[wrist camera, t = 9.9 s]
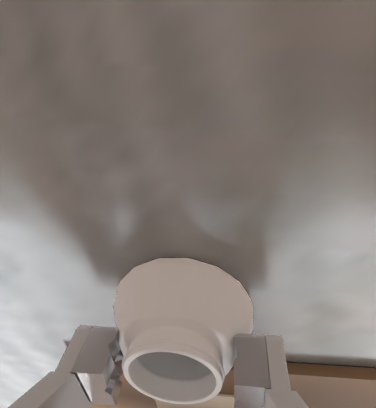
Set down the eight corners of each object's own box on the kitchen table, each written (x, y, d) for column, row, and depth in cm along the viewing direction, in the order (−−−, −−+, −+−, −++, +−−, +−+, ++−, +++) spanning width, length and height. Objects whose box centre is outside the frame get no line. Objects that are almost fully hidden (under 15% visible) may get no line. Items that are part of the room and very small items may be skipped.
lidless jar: (213, 230, 9) (95, 274, 11) (206, 305, 7) (56, 346, 9) (272, 325, 11) (164, 349, 13) (283, 409, 9) (149, 426, 11)
